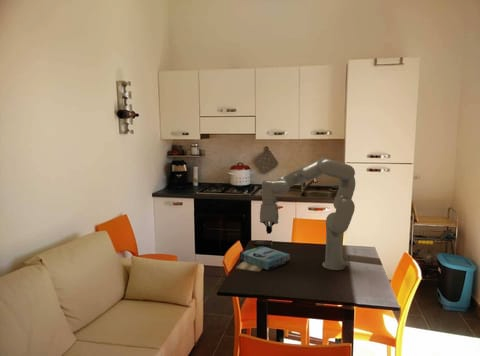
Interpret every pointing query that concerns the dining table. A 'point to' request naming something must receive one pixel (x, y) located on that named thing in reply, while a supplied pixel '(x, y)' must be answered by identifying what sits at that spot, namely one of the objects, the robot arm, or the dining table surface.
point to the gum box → (264, 257)
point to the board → (248, 267)
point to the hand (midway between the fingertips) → (269, 233)
